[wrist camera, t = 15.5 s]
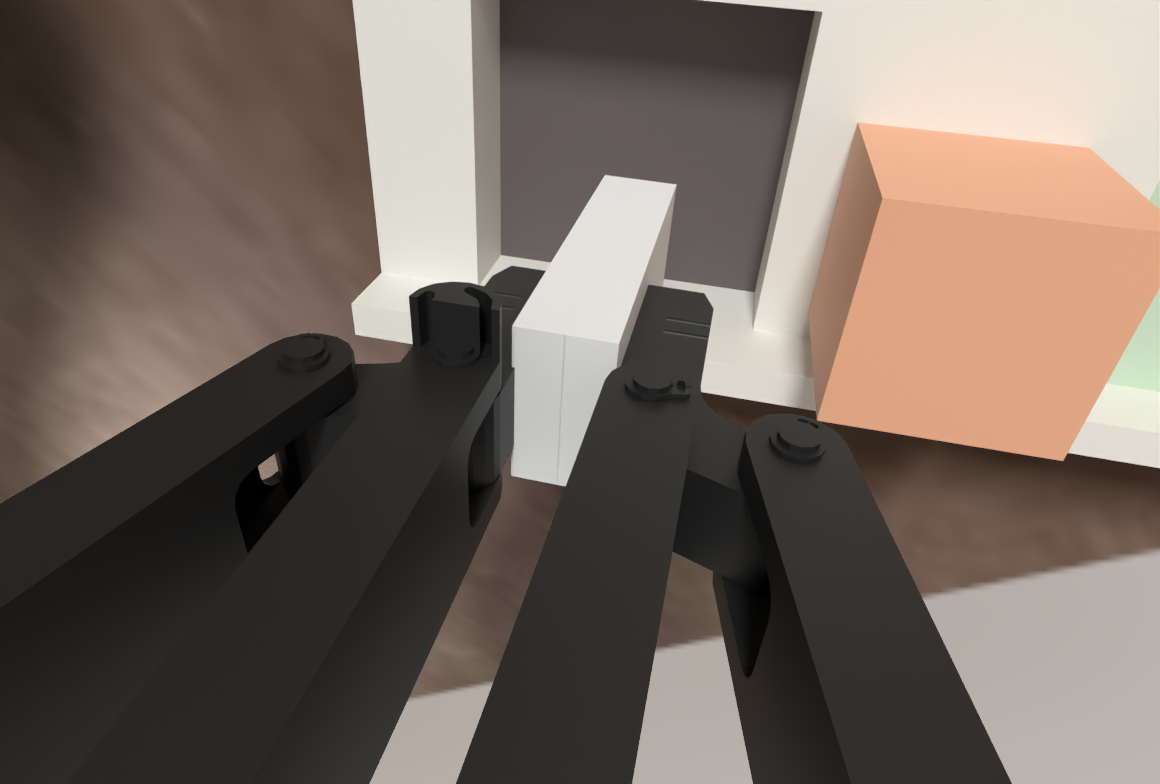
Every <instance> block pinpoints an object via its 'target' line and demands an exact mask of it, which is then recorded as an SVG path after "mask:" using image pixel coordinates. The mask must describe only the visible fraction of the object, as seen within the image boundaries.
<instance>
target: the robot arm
mask: <svg viewBox="0 0 1160 784" xmlns="http://www.w3.org/2000/svg"><path fill="white" fill-rule="evenodd" d="M676 185H677V184H669V183H662V182H654V181H647V180H639V179H632V178H624V177H617V176H609V175H605V176H604V177H603V179H602V181H601V182H600V184H599V186H598V187H597V189H596V190H595V192H594V194H593V195H592V197H591V199H590V200H589V202H588V203H587V205H586V207H585V208H584V210H583V212H582V213H581V215H580V216H579V218H578V220H577V221H576V223H575V225H574V226H573V228H572V229H571V231H570V233H569V234H568V236H567V237H566V239H565V241H564V242H563V244H562V246H561V247H560V249H559V250H558V252H557V254H556V255H555V257H554V259H553V260H552V262H551V263H550V265H549V267H548V268H547V270H546V271H544V270H537V269H531V268H524V267H518V266H510V267H508V268H506V269H504V270H502V271H501V272H499V273H497V274H495V275H493V276H492V277H491V278H490V279H489V281H488V282H487V283H486V285H485V286H481V285H477V284H473V283H468V282H444V283H435V284H432V285H429V286H426V287H423V288H420V289H418V290H417V291H415V292H414V293H412V294H411V295H409V305H410V317H411V329H412V342H413V347H412V348H411V350H410V351H409V352H408V353H407V355H406V356H405V357H404V358H403V360H402V361H401V362H399V363H387V364H355V359H354V352H353V350H352V348H351V347H350V345H349V343H347V342H345V341H343V340H342V339H340V338H338V337H334V336H329V335H324V334H316V333H313V334H311V333H307V334H299V335H297V336H292V337H287V338H284V339H281V340H279V341H277V342H274V343H272V344H270V345H268V346H266V347H265V348H263V349H261V350H260V351H258V352H256V353H255V354H253V355H251V356H249V357H248V358H246V359H244V360H243V361H241V362H239V363H238V364H236V365H234V366H233V367H231V368H229V369H227V370H226V371H224V372H222V373H221V374H219V375H217V376H216V377H214V378H212V379H211V380H209V381H207V382H205V383H204V384H202V385H200V386H199V387H197V388H195V389H194V390H192V391H190V392H189V393H187V394H185V395H183V396H182V397H180V398H178V399H177V400H175V401H173V402H172V403H170V404H168V405H167V406H165V407H163V408H162V409H160V410H158V411H156V412H155V413H153V414H151V415H150V416H148V417H146V418H145V419H143V420H141V421H140V422H138V423H136V424H134V425H133V426H131V427H129V428H128V429H126V430H124V431H123V432H121V433H119V434H118V435H116V436H114V437H112V438H111V439H109V440H107V441H106V442H104V443H102V444H101V445H99V446H97V447H96V448H94V449H92V450H91V451H89V452H87V453H85V454H84V455H82V456H80V457H79V458H77V459H75V460H74V461H72V462H70V463H69V464H67V465H65V466H63V467H62V468H60V469H58V470H57V471H55V472H53V473H52V474H50V475H48V476H47V477H45V478H43V479H41V480H40V481H38V482H36V483H35V484H33V485H31V486H30V487H28V488H26V489H25V490H23V491H21V492H19V493H18V494H16V495H14V496H13V497H11V498H9V499H8V500H6V501H4V502H3V503H1V504H0V784H369V783H370V781H371V779H372V777H373V774H374V772H375V770H376V767H377V765H378V764H379V761H380V759H381V757H382V755H383V752H384V750H385V748H386V746H387V744H388V742H389V740H390V737H391V735H392V733H393V731H394V729H395V726H396V724H397V722H398V720H399V718H400V715H401V713H402V711H403V709H404V707H405V705H406V702H407V700H408V698H409V696H410V694H411V692H412V689H413V687H414V685H415V683H416V681H417V679H418V676H419V674H420V672H421V670H422V668H423V665H424V663H425V661H426V659H427V657H428V655H429V652H430V650H431V648H432V646H433V644H434V641H435V639H436V637H437V635H438V633H439V631H440V628H441V626H442V624H443V622H444V620H445V617H446V615H447V613H448V611H449V609H450V607H451V604H452V602H453V600H454V598H455V596H456V594H457V591H458V589H459V587H460V585H461V583H462V580H463V578H464V576H465V574H466V572H467V570H468V567H469V565H470V563H471V561H472V559H473V556H474V554H475V552H476V550H477V548H478V546H479V543H480V541H481V539H482V537H483V535H484V532H485V530H486V528H487V526H488V524H489V522H490V519H491V517H492V515H493V513H494V511H495V509H496V506H497V504H498V502H499V500H500V497H501V491H502V469H503V466H504V464H505V462H506V460H507V458H508V456H509V454H510V452H511V476H515V477H520V478H525V479H530V480H535V481H540V482H545V483H550V484H555V485H561V486H566V487H565V490H564V492H563V495H562V498H561V500H560V503H559V506H558V509H557V511H556V514H555V517H554V519H553V522H552V525H551V528H550V530H549V533H548V536H547V538H546V541H545V544H544V547H543V549H542V552H541V555H540V557H539V560H538V563H537V565H536V568H535V571H534V574H533V576H532V579H531V582H530V584H529V587H528V590H527V593H526V595H525V598H524V601H523V603H522V606H521V609H520V612H519V614H518V617H517V620H516V622H515V625H514V628H513V631H512V633H511V636H510V639H509V641H508V644H507V647H506V650H505V652H504V655H503V658H502V660H501V663H500V666H499V669H498V671H497V674H496V677H495V679H494V682H493V685H492V688H491V690H490V693H489V696H488V698H487V701H486V704H485V706H484V709H483V712H482V715H481V717H480V720H479V723H478V725H477V728H476V731H475V734H474V737H473V739H472V742H471V745H470V747H469V750H468V753H467V755H466V758H465V761H464V763H463V766H462V769H461V772H460V774H459V777H458V780H457V783H456V784H632V779H633V774H634V768H635V763H636V757H637V751H638V745H639V739H640V733H641V728H642V722H643V716H644V710H645V704H646V699H647V693H648V688H649V682H650V676H651V671H652V665H653V659H654V653H655V648H656V642H657V636H658V631H659V625H660V619H661V613H662V608H663V602H664V596H665V590H666V585H667V579H668V573H669V567H670V562H671V556H672V551H673V552H675V553H677V554H679V555H681V556H683V557H685V558H687V559H689V560H691V561H693V562H695V563H697V564H700V565H702V566H704V567H706V568H708V569H710V570H712V571H713V587H714V592H715V597H716V602H717V607H718V612H719V617H720V622H721V627H722V632H723V637H724V642H725V647H726V652H727V656H728V662H729V666H730V671H731V676H732V681H733V686H734V691H735V696H736V701H737V706H738V711H739V716H740V721H741V726H742V731H743V736H744V741H745V746H746V751H747V755H748V760H749V765H750V770H751V775H752V780H753V784H1012V783H1011V781H1010V779H1009V777H1008V775H1007V773H1006V771H1005V769H1004V767H1003V764H1002V762H1001V760H1000V759H999V756H998V754H997V752H996V750H995V748H994V746H993V744H992V742H991V740H990V738H989V736H988V734H987V731H986V730H985V727H984V725H983V724H982V721H981V719H980V717H979V715H978V713H977V711H976V709H975V707H974V705H973V702H972V700H971V698H970V696H969V694H968V692H967V690H966V688H965V686H964V684H963V682H962V680H961V678H960V676H959V673H958V671H957V669H956V667H955V665H954V663H953V661H952V659H951V657H950V655H949V653H948V651H947V649H946V647H945V645H944V643H943V640H942V638H941V636H940V634H939V632H938V630H937V628H936V626H935V624H934V622H933V620H932V618H931V616H930V614H929V611H928V609H927V607H926V605H925V603H924V601H923V599H922V597H921V595H920V593H919V591H918V589H917V587H916V585H915V582H914V580H913V578H912V576H911V574H910V572H909V570H908V568H907V566H906V564H905V562H904V560H903V558H902V556H901V553H900V551H899V549H898V547H897V545H896V543H895V541H894V539H893V537H892V535H891V533H890V531H889V529H888V527H887V525H886V522H885V520H884V518H883V516H882V514H881V512H880V510H879V508H878V506H877V504H876V502H875V500H874V498H873V496H872V494H871V491H870V489H869V487H868V485H867V483H866V481H865V479H864V477H863V475H862V473H861V471H860V469H859V467H858V465H857V462H856V460H855V458H854V456H853V454H852V452H851V450H850V448H849V446H848V445H847V443H846V442H845V441H844V440H843V438H842V437H841V436H840V434H839V433H837V432H836V431H834V430H833V429H831V428H830V427H828V426H827V425H825V424H824V423H822V422H819V421H817V420H814V419H811V418H809V417H806V416H802V415H795V414H788V413H779V414H767V415H765V416H763V417H760V418H758V419H756V420H753V422H752V423H751V424H750V425H749V427H748V428H746V427H743V426H741V425H738V424H736V423H734V422H731V421H729V420H727V419H725V418H723V417H722V416H720V415H719V414H718V413H716V412H715V411H713V410H712V409H711V408H710V406H709V405H708V404H707V403H706V402H705V400H704V398H703V396H702V394H701V381H702V375H703V369H704V363H705V357H706V351H707V345H708V339H709V334H710V328H711V322H712V316H713V310H714V308H713V307H712V305H711V303H710V302H709V300H708V298H707V297H706V295H705V294H704V293H700V292H694V291H687V290H681V289H674V288H668V287H663V281H664V274H665V267H666V259H667V252H668V244H669V237H670V229H671V222H672V215H673V207H674V200H675V192H676ZM273 454H275V456H276V461H277V465H278V470H279V471H278V472H276V473H275V474H274V475H272V476H271V477H269V478H267V479H265V480H262V479H261V477H260V474H259V470H258V465H260V464H261V463H262V462H264V461H265V460H266V459H268V458H269V457H271V456H272V455H273Z"/></svg>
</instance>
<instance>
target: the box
mask: <svg viewBox="0 0 1160 784" xmlns="http://www.w3.org/2000/svg"><path fill="white" fill-rule="evenodd" d="M353 8H354V17H355V27H356V36H357V45H358V55H359V64H360V74H361V83H362V92H363V102H364V111H365V120H366V130H367V139H368V149H369V158H370V167H371V177H372V186H373V195H374V205H375V214H376V224H377V233H378V242H379V252H380V261H381V270H382V273H381V274H380V275H379V276H378V277H377V278H376V279H375V280H374V281H373V282H372V283H371V284H370V285H369V286H368V287H367V288H366V289H365V290H364V291H363V292H362V293H361V294H360V295H359V296H358V297H357V298H356V299H355V301H354V302H353V303H352V312H353V319H354V326H355V334H356V335H361V336H367V337H373V338H379V339H385V340H391V341H397V342H403V343H409V344H413V342H412V329H411V317H410V305H409V295H411V294H412V293H414V292H415V291H417V290H418V289H420V288H423V287H426V286H429V285H432V284H435V283H444V282H468V283H473V284H477V285H481V286H485V285H486V283H487V282H488V281H489V279H490V278H491V277H492V276H493V275H495V274H497V273H499V272H501V271H502V270H504V269H506V268H508V267H510V266H518V267H524V268H531V269H537V270H544V271H546V270H547V268H548V267H549V265H550V263H551V262H552V260H553V259H554V257H555V255H556V254H557V252H558V250H559V249H560V247H561V246H562V244H563V242H564V241H565V239H566V237H567V236H568V234H569V233H570V231H571V229H572V228H573V226H574V225H575V223H576V221H577V220H578V218H579V216H580V215H581V213H582V212H583V210H584V208H585V207H586V205H587V203H588V202H589V200H590V199H591V197H592V195H593V194H594V192H595V190H596V189H597V187H598V186H599V184H600V182H601V181H602V179H603V177H604V176H605V175H609V176H617V177H624V178H632V179H639V180H647V181H654V182H662V183H669V184H677V185H676V192H675V200H674V207H673V215H672V222H671V229H670V237H669V244H668V252H667V259H666V267H665V274H664V281H663V287H668V288H674V289H681V290H687V291H694V292H700V293H704V294H705V295H706V297H707V298H708V300H709V302H710V303H711V305H712V307H713V308H714V310H713V316H712V322H711V328H710V334H709V339H708V345H707V351H706V357H705V363H704V369H703V375H702V381H701V392H704V393H710V394H716V395H722V396H728V397H734V398H740V399H746V400H752V401H758V402H765V403H771V404H777V405H783V406H789V407H795V408H801V409H807V410H813V411H816V405H815V392H814V378H813V365H812V352H811V339H810V326H809V312H808V311H809V308H810V304H811V300H812V296H813V292H814V288H815V285H816V281H817V277H818V273H819V269H820V265H821V262H822V258H823V254H824V250H825V246H826V242H827V239H828V235H829V231H830V227H831V223H832V219H833V216H834V212H835V208H836V204H837V200H838V196H839V193H840V189H841V185H842V181H843V177H844V173H845V170H846V166H847V162H848V158H849V154H850V150H851V147H852V143H853V139H854V135H855V131H856V127H857V124H858V122H859V123H868V124H877V125H887V126H896V127H905V128H914V129H923V130H932V131H941V132H950V133H960V134H969V135H978V136H987V137H996V138H1005V139H1014V140H1023V141H1033V142H1042V143H1051V144H1060V145H1069V146H1078V147H1087V148H1090V149H1091V150H1093V151H1094V152H1095V153H1096V154H1097V155H1098V156H1099V157H1100V158H1102V159H1103V160H1104V161H1105V162H1106V163H1107V164H1108V165H1110V166H1111V167H1112V168H1113V169H1114V170H1115V171H1116V172H1117V173H1119V174H1120V175H1121V176H1122V177H1123V178H1124V179H1125V180H1127V181H1128V182H1129V183H1130V184H1131V185H1132V186H1133V187H1134V188H1136V189H1137V190H1138V191H1139V192H1140V193H1141V194H1142V195H1144V196H1145V197H1146V198H1147V199H1148V200H1149V201H1150V202H1151V203H1153V204H1154V205H1155V206H1156V207H1157V208H1158V209H1159V210H1160V0H353ZM1068 453H1072V454H1078V455H1084V456H1090V457H1096V458H1102V459H1108V460H1114V461H1120V462H1126V463H1132V464H1138V465H1144V466H1150V467H1156V468H1160V288H1159V290H1158V292H1157V294H1156V296H1155V297H1154V299H1153V301H1152V303H1151V305H1150V306H1149V308H1148V310H1147V312H1146V314H1145V315H1144V317H1143V319H1142V321H1141V322H1140V324H1139V326H1138V328H1137V330H1136V331H1135V333H1134V335H1133V337H1132V339H1131V340H1130V342H1129V344H1128V346H1127V348H1126V349H1125V351H1124V353H1123V355H1122V357H1121V358H1120V360H1119V362H1118V364H1117V365H1116V367H1115V369H1114V371H1113V373H1112V374H1111V376H1110V378H1109V380H1108V382H1107V383H1106V385H1105V387H1104V389H1103V391H1102V392H1101V394H1100V396H1099V398H1098V399H1097V401H1096V403H1095V405H1094V407H1093V408H1092V410H1091V412H1090V414H1089V416H1088V417H1087V419H1086V421H1085V423H1084V425H1083V426H1082V428H1081V430H1080V432H1079V434H1078V435H1077V437H1076V439H1075V441H1074V442H1073V444H1072V446H1071V448H1070V450H1069V451H1068Z"/></svg>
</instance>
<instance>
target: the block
mask: <svg viewBox="0 0 1160 784" xmlns="http://www.w3.org/2000/svg"><path fill="white" fill-rule="evenodd" d="M1159 288H1160V210H1159V209H1158V208H1157V207H1156V206H1155V205H1154V204H1153V203H1151V202H1150V201H1149V200H1148V199H1147V198H1146V197H1145V196H1144V195H1142V194H1141V193H1140V192H1139V191H1138V190H1137V189H1136V188H1134V187H1133V186H1132V185H1131V184H1130V183H1129V182H1128V181H1127V180H1125V179H1124V178H1123V177H1122V176H1121V175H1120V174H1119V173H1117V172H1116V171H1115V170H1114V169H1113V168H1112V167H1111V166H1110V165H1108V164H1107V163H1106V162H1105V161H1104V160H1103V159H1102V158H1100V157H1099V156H1098V155H1097V154H1096V153H1095V152H1094V151H1093V150H1091V149H1090V148H1087V147H1078V146H1069V145H1060V144H1051V143H1042V142H1033V141H1023V140H1014V139H1005V138H996V137H987V136H978V135H969V134H960V133H950V132H941V131H932V130H923V129H914V128H905V127H896V126H887V125H877V124H868V123H859V122H858V124H857V127H856V131H855V135H854V139H853V143H852V147H851V150H850V154H849V158H848V162H847V166H846V170H845V173H844V177H843V181H842V185H841V189H840V193H839V196H838V200H837V204H836V208H835V212H834V216H833V219H832V223H831V227H830V231H829V235H828V239H827V242H826V246H825V250H824V254H823V258H822V262H821V265H820V269H819V273H818V277H817V281H816V285H815V288H814V292H813V296H812V300H811V304H810V308H809V311H808V312H809V326H810V339H811V352H812V365H813V378H814V392H815V405H816V418H817V421H823V422H829V423H835V424H841V425H847V426H853V427H859V428H865V429H871V430H877V431H883V432H889V433H895V434H902V435H908V436H914V437H920V438H926V439H932V440H938V441H944V442H950V443H956V444H962V445H968V446H974V447H980V448H986V449H992V450H999V451H1005V452H1011V453H1017V454H1023V455H1029V456H1035V457H1041V458H1047V459H1053V460H1059V461H1063V460H1064V459H1065V457H1066V455H1067V453H1068V451H1069V450H1070V448H1071V446H1072V444H1073V442H1074V441H1075V439H1076V437H1077V435H1078V434H1079V432H1080V430H1081V428H1082V426H1083V425H1084V423H1085V421H1086V419H1087V417H1088V416H1089V414H1090V412H1091V410H1092V408H1093V407H1094V405H1095V403H1096V401H1097V399H1098V398H1099V396H1100V394H1101V392H1102V391H1103V389H1104V387H1105V385H1106V383H1107V382H1108V380H1109V378H1110V376H1111V374H1112V373H1113V371H1114V369H1115V367H1116V365H1117V364H1118V362H1119V360H1120V358H1121V357H1122V355H1123V353H1124V351H1125V349H1126V348H1127V346H1128V344H1129V342H1130V340H1131V339H1132V337H1133V335H1134V333H1135V331H1136V330H1137V328H1138V326H1139V324H1140V322H1141V321H1142V319H1143V317H1144V315H1145V314H1146V312H1147V310H1148V308H1149V306H1150V305H1151V303H1152V301H1153V299H1154V297H1155V296H1156V294H1157V292H1158V290H1159Z"/></svg>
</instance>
